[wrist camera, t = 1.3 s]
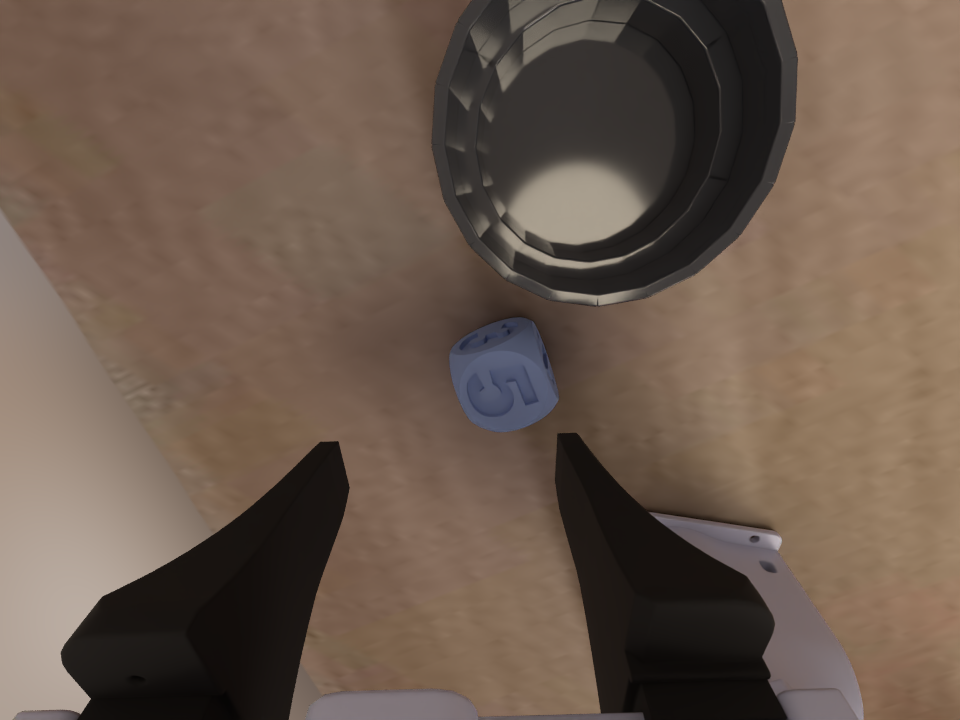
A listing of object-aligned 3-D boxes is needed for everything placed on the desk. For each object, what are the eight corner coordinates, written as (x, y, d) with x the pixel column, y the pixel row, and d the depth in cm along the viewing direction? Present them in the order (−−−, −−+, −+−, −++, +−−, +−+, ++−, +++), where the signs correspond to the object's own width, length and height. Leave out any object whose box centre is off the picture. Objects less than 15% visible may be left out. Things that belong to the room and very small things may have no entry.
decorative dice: (556, 379, 23) (562, 417, 19) (484, 402, 24) (477, 442, 20) (530, 309, 22) (531, 335, 18) (455, 335, 23) (442, 365, 19)
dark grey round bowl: (759, 2, 17) (863, -77, 12) (678, 289, 21) (728, 324, 16) (470, -26, 17) (446, -114, 12) (447, 259, 21) (422, 284, 16)
